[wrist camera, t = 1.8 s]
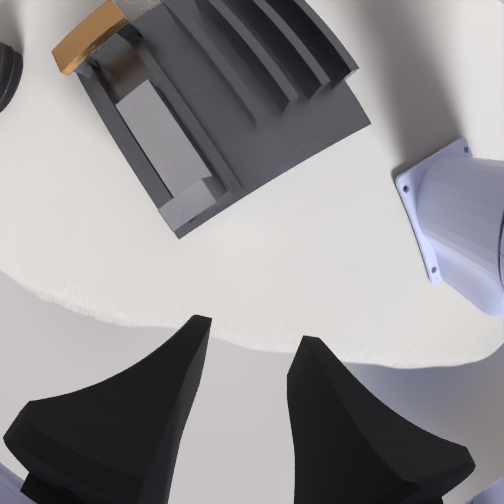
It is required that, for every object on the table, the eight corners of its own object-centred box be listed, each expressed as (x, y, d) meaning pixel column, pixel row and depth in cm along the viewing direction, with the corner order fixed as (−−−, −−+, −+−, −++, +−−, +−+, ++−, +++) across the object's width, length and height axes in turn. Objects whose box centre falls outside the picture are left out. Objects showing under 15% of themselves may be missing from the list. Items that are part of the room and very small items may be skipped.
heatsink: (364, 125, 15) (398, 116, 11) (183, 234, 18) (160, 258, 13) (240, -28, 12) (237, -65, 7) (82, 73, 14) (45, 58, 9)
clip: (227, 191, 16) (216, 202, 11) (193, 213, 16) (172, 231, 12) (155, 84, 14) (125, 63, 9) (125, 108, 14) (88, 96, 10)
